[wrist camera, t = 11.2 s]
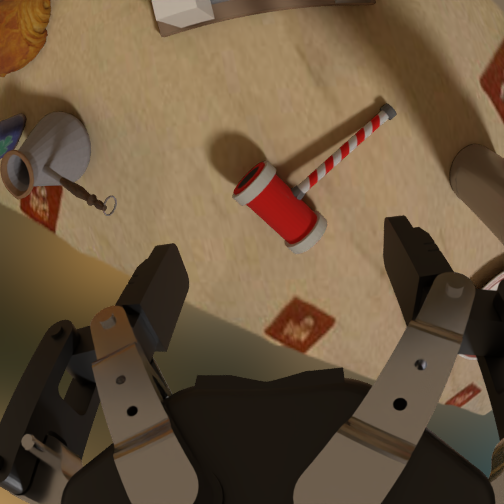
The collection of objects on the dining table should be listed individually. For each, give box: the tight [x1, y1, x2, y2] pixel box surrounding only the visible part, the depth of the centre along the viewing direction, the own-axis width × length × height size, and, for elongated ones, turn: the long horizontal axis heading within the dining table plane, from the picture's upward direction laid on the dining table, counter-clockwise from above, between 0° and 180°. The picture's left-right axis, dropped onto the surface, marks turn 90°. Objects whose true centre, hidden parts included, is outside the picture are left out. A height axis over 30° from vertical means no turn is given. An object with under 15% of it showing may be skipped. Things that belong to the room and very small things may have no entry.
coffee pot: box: [0, 112, 117, 216], centre depth 34 cm, size 21×12×15 cm, turn 75°
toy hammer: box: [232, 103, 397, 254], centre depth 37 cm, size 23×12×6 cm, turn 136°
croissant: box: [0, 0, 51, 77], centre depth 26 cm, size 14×16×8 cm
